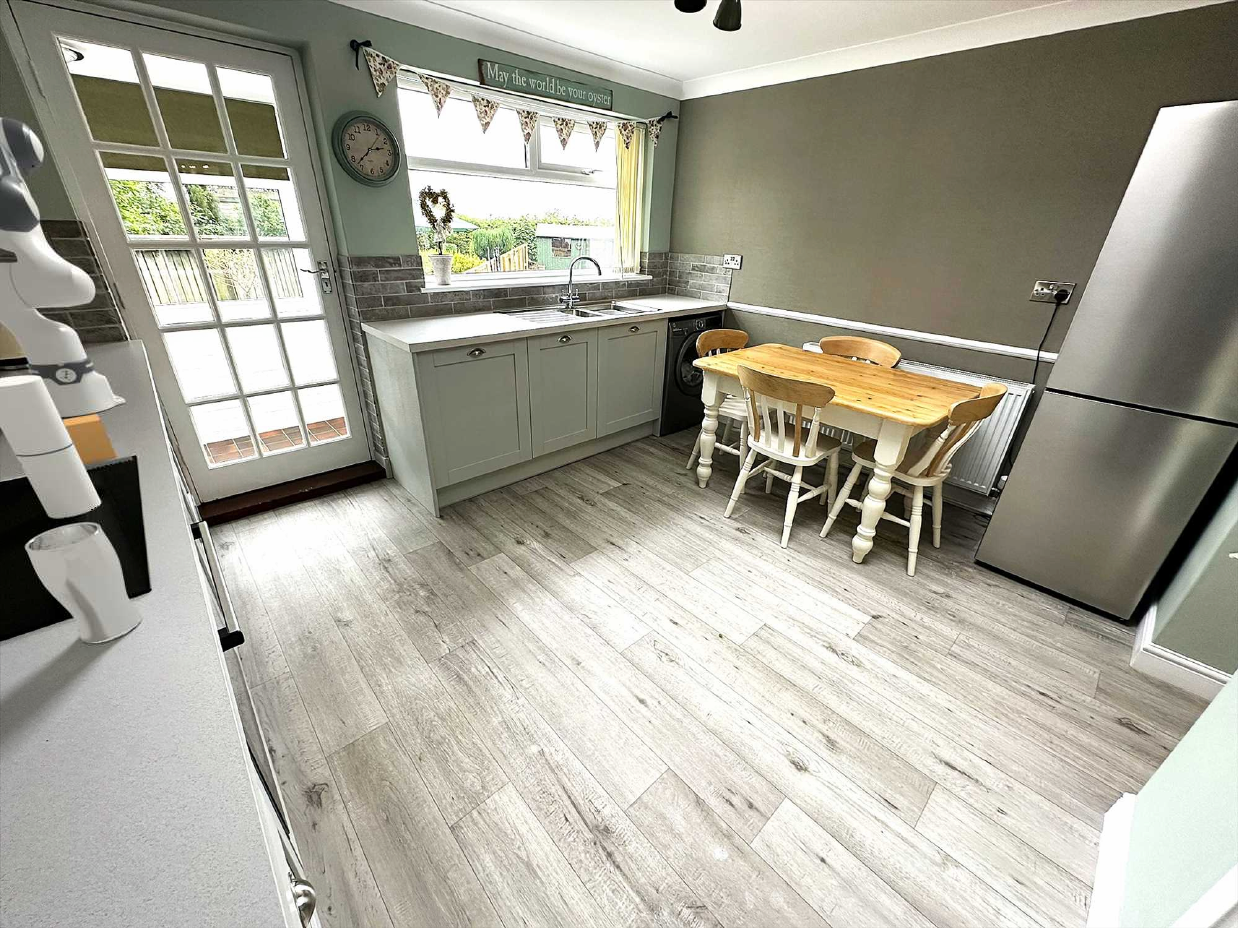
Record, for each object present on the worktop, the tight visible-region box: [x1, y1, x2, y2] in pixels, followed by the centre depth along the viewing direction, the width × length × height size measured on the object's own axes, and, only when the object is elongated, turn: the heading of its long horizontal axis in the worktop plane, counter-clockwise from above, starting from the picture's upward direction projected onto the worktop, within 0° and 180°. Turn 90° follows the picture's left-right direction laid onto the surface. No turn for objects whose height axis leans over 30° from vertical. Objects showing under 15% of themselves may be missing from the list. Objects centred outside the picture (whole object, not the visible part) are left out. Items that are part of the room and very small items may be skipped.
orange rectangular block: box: [62, 413, 117, 464], centre depth 110 cm, size 5×5×9 cm
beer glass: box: [24, 521, 143, 644], centre depth 64 cm, size 7×7×15 cm
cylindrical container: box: [0, 374, 102, 519], centre depth 89 cm, size 7×7×25 cm
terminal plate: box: [77, 441, 134, 471], centre depth 113 cm, size 12×10×1 cm
